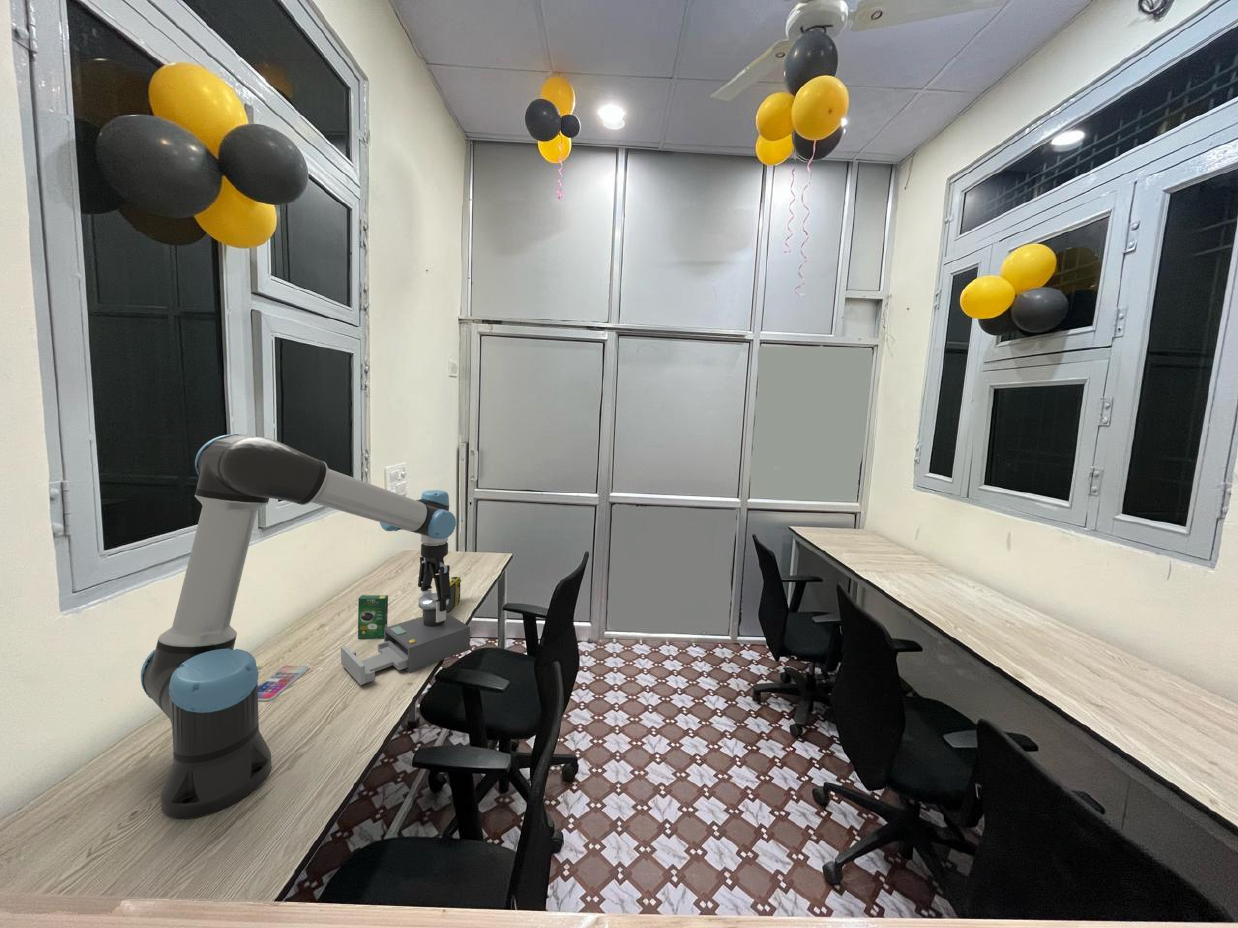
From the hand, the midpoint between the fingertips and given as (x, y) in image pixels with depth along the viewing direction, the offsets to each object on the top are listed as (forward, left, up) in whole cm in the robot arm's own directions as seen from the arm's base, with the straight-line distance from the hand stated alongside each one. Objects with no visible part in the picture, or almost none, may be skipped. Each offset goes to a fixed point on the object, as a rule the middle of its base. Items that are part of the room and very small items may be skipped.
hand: (433, 615), depth 135 cm
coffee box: (-11, +17, -9) cm, 22 cm away
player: (-3, -2, -9) cm, 10 cm away
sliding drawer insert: (-15, -2, -8) cm, 17 cm away
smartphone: (-37, +8, -10) cm, 39 cm away
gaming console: (+12, +17, -9) cm, 23 cm away
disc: (0, 0, +4) cm, 4 cm away
